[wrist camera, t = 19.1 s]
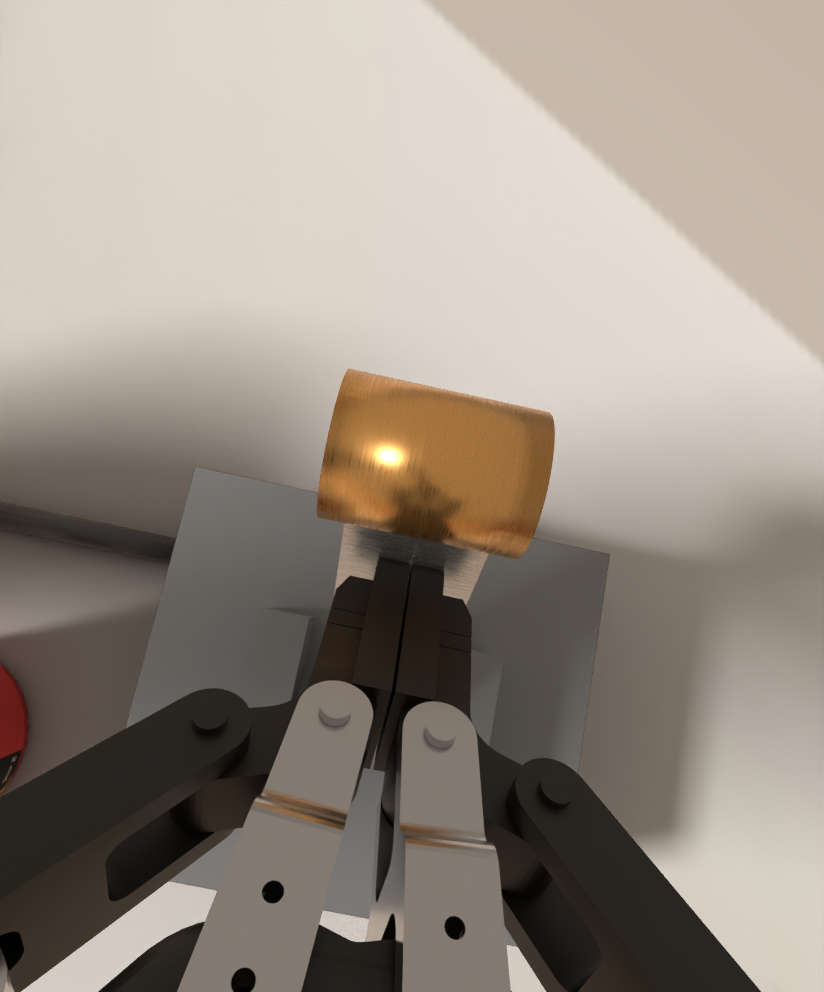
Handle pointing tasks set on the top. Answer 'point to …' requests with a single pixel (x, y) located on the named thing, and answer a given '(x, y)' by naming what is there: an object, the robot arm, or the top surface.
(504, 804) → the robot arm
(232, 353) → the top surface
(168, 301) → the top surface
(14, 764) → the canned food
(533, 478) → the breaker lever
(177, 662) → the box
